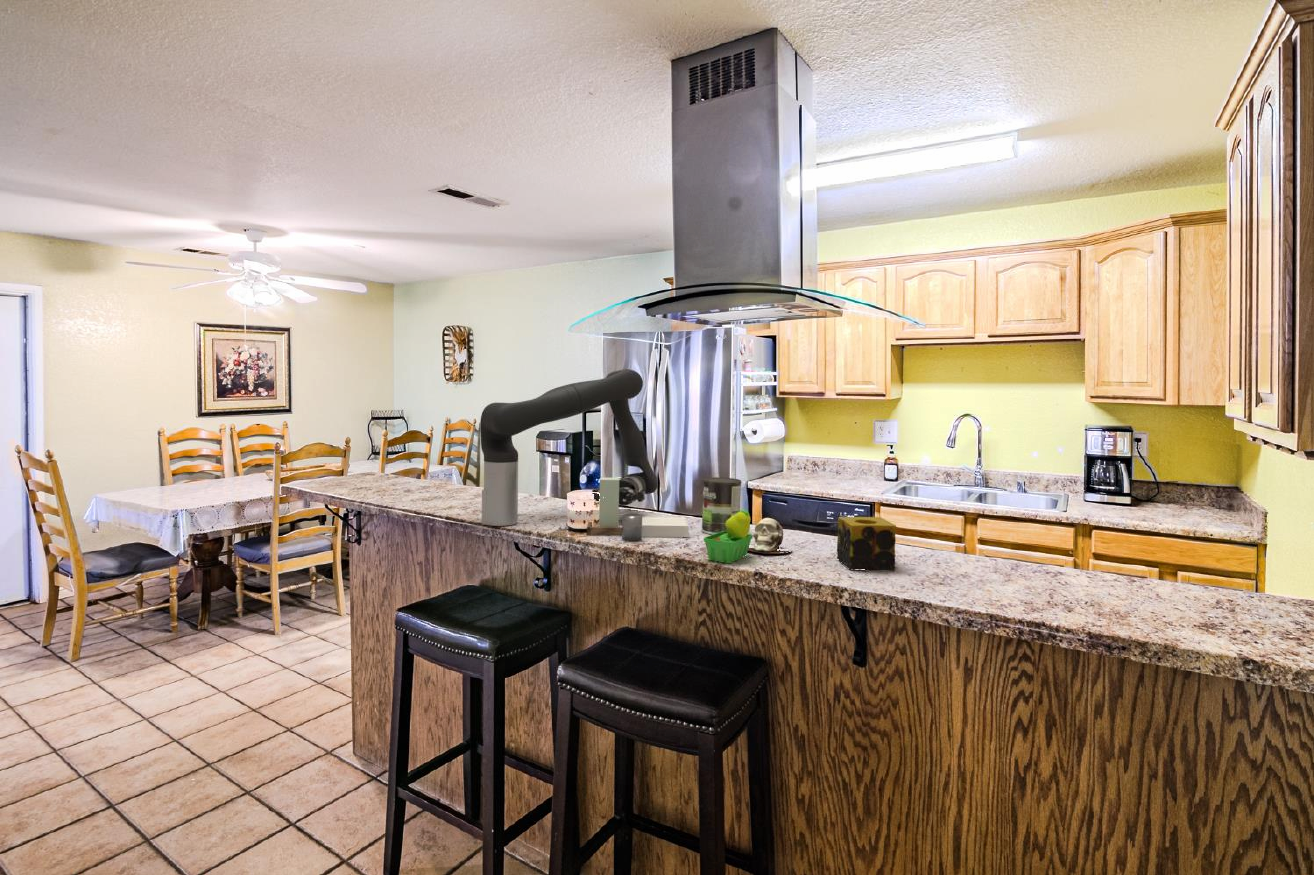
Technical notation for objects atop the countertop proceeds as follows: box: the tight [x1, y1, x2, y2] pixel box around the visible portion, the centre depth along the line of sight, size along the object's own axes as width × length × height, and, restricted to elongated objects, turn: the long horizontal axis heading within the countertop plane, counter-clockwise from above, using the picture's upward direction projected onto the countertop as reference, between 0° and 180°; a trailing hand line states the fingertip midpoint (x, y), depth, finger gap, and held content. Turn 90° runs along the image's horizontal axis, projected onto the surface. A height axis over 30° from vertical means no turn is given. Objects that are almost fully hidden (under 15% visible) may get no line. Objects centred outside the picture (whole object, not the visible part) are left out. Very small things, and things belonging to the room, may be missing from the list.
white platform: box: [642, 516, 690, 538], centre depth 182 cm, size 13×12×3 cm
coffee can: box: [701, 477, 743, 535], centre depth 184 cm, size 10×10×14 cm
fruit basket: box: [703, 509, 754, 564], centre depth 154 cm, size 11×9×11 cm
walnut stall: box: [586, 521, 622, 537], centre depth 182 cm, size 11×10×2 cm
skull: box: [747, 517, 789, 555], centre depth 164 cm, size 12×10×10 cm
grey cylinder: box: [621, 513, 643, 543], centre depth 172 cm, size 5×5×6 cm
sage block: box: [598, 477, 620, 527], centre depth 182 cm, size 5×5×14 cm
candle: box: [836, 516, 897, 571], centre depth 151 cm, size 10×10×10 cm
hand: (612, 498), depth 184 cm, fingers open, 8 cm apart
